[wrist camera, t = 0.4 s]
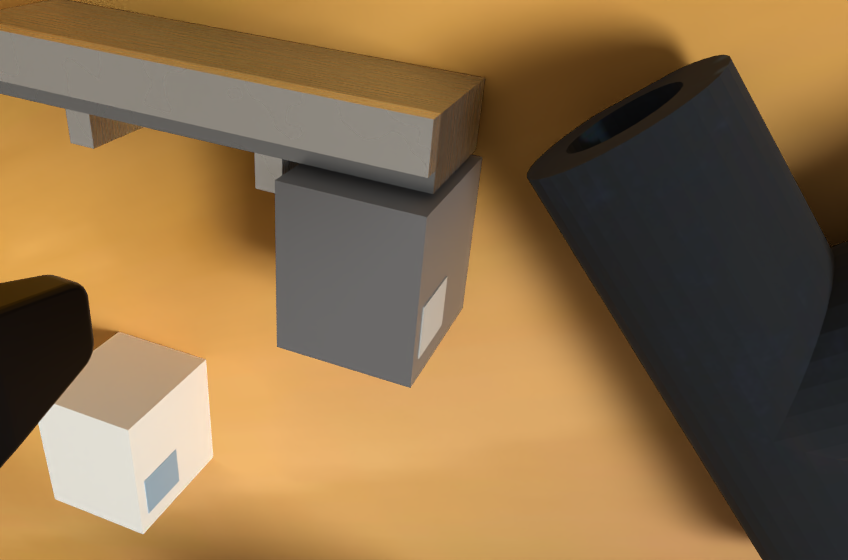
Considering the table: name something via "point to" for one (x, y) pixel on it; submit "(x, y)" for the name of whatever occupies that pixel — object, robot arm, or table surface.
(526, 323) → the table surface
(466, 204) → the block
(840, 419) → the pipe connector
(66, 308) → the robot arm
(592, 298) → the table surface
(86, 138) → the rail
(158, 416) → the block
